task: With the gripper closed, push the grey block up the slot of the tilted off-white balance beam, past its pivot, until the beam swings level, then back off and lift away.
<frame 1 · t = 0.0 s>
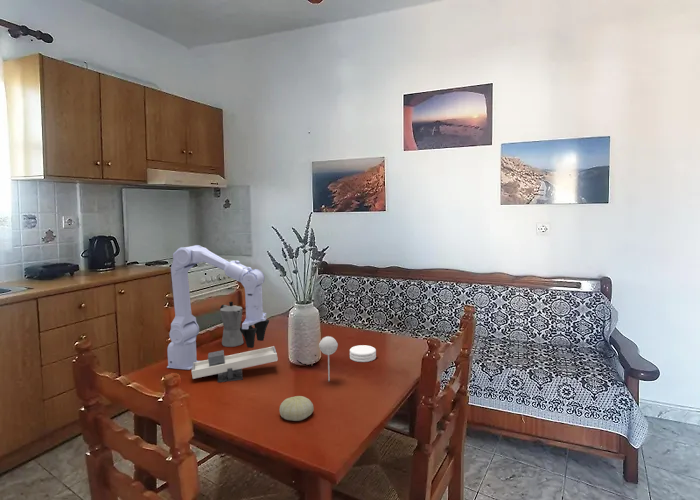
hand: (255, 343, 152), 10 cm above the table, tool pointing down, fingers open, 7 cm apart
coaster: (362, 358, 166), on the table
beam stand: (230, 374, 151), on the table
coffeepot: (231, 343, 185), on the table
mineral rock: (308, 362, 163), on the table
sea urchin shell: (296, 416, 122), on the table
lollipop: (329, 381, 144), on the table
grey block: (217, 364, 149), point 4 cm above the table, tilted 6°, touching beam
beam: (235, 361, 151), point 4 cm above the table, hinge at -6.1°, touching grey block
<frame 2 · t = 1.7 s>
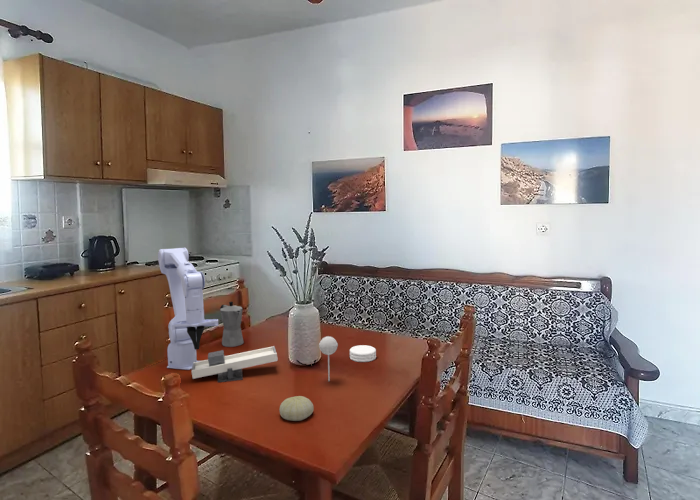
hand: (196, 348, 147), 10 cm above the table, tool pointing down, fingers closed
nothing on the table moved.
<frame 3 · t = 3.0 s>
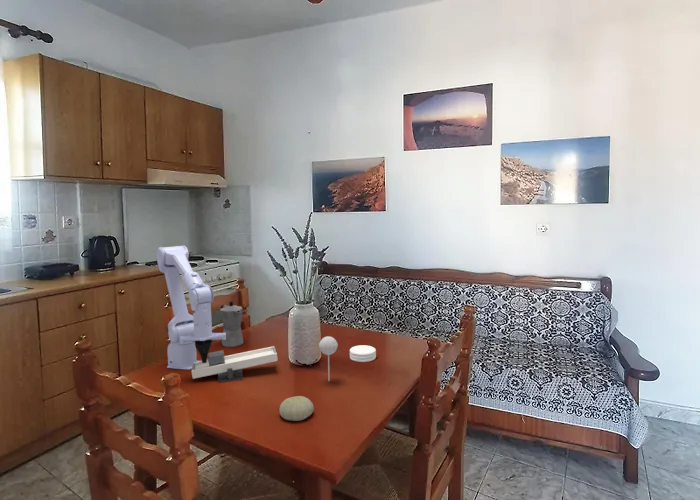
hand: (204, 361, 148), 5 cm above the table, tool pointing down, fingers closed
grey block: (217, 364, 149), point 4 cm above the table, tilted 6°, touching beam, gripper
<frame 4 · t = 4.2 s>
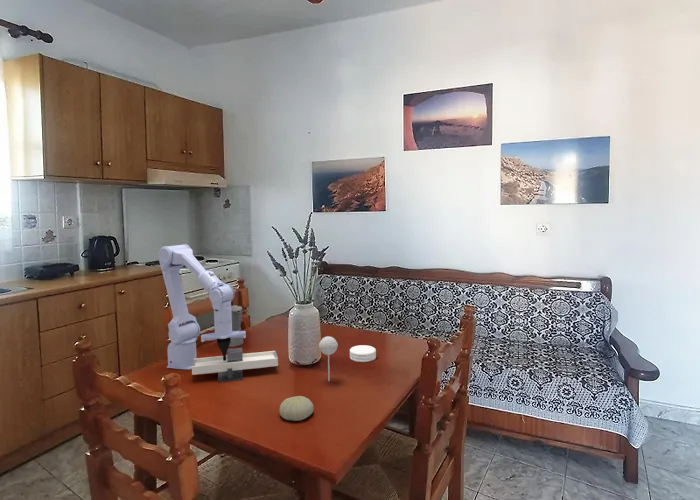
hand: (224, 359, 150), 5 cm above the table, tool pointing down, fingers closed
grey block: (235, 361, 151), point 4 cm above the table, touching beam, gripper
beam: (235, 362, 151), point 4 cm above the table, hinge at 0.3°, touching grey block
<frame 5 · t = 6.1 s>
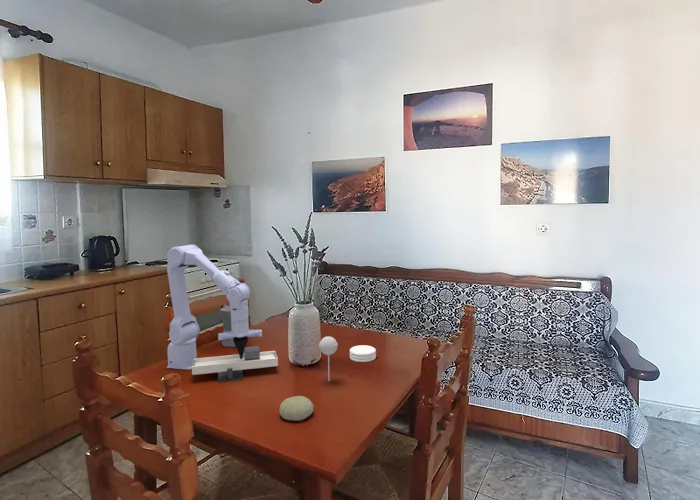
hand: (241, 358, 151), 5 cm above the table, tool pointing down, fingers closed
grey block: (252, 360, 153), point 4 cm above the table, touching beam, gripper
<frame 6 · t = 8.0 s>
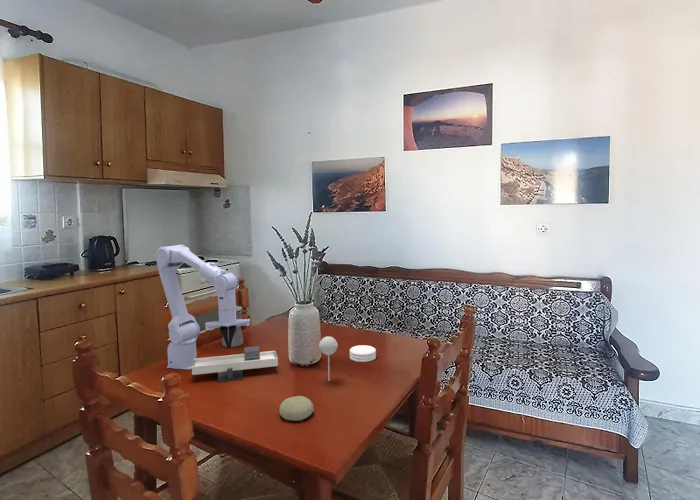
hand: (228, 347, 151), 9 cm above the table, tool pointing down, fingers closed
grey block: (252, 360, 153), point 4 cm above the table, touching beam
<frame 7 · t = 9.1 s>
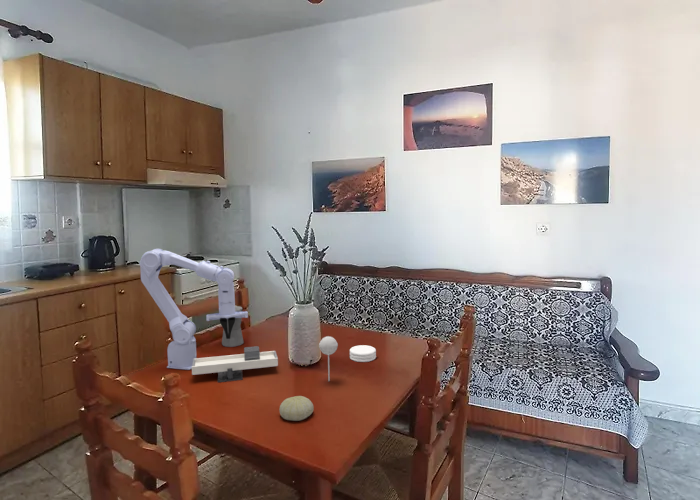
hand: (228, 338, 161), 9 cm above the table, tool pointing down, fingers closed
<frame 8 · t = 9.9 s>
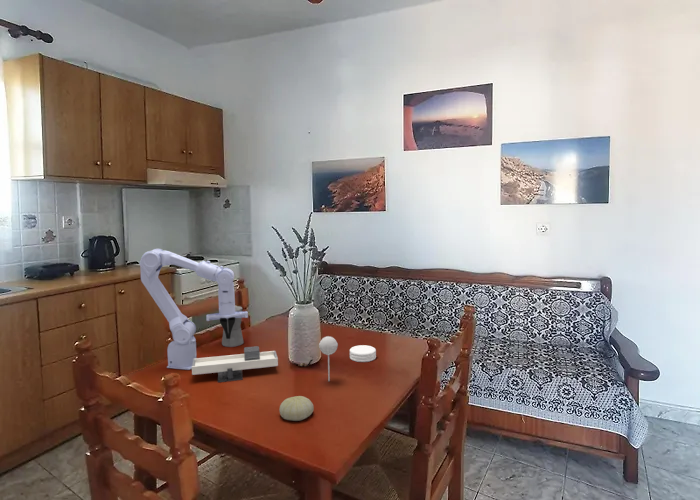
hand: (228, 338, 161), 9 cm above the table, tool pointing down, fingers closed
at the end: beam at +0° (first picture: -6°); grey block inside the target area on the beam (0.8 cm from its centre), point 0.7 cm above the beam's base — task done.
